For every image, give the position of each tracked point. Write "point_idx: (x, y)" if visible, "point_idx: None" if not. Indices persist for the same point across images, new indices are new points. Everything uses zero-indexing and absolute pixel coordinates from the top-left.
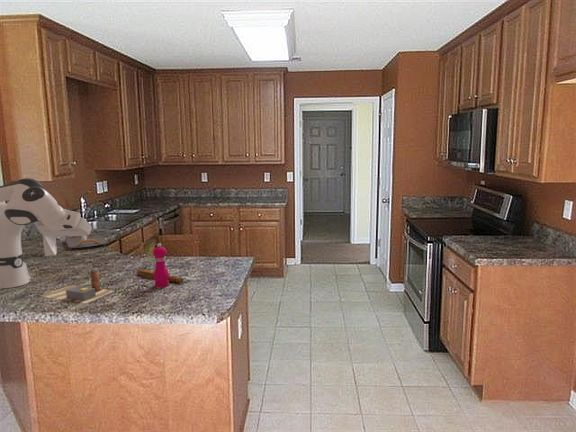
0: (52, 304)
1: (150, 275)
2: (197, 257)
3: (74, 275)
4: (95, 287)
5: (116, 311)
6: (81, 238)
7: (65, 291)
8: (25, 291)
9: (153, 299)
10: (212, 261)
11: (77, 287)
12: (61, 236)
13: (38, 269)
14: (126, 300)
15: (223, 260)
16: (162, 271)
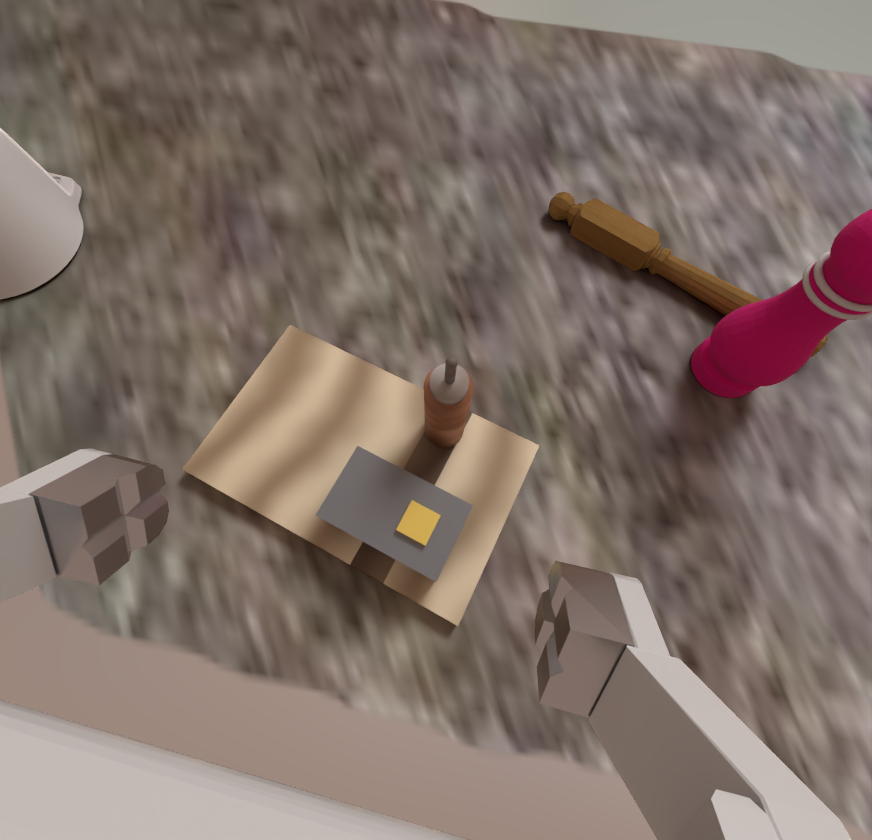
0: (270, 564)
1: (632, 257)
2: (722, 52)
3: (265, 181)
4: (449, 440)
5: None
6: (563, 707)
7: (290, 414)
8: (93, 351)
9: (771, 572)
10: (811, 104)
11: (367, 473)
12: (49, 528)
13: (91, 90)
14: (634, 564)
15: (854, 99)
16: (807, 355)
